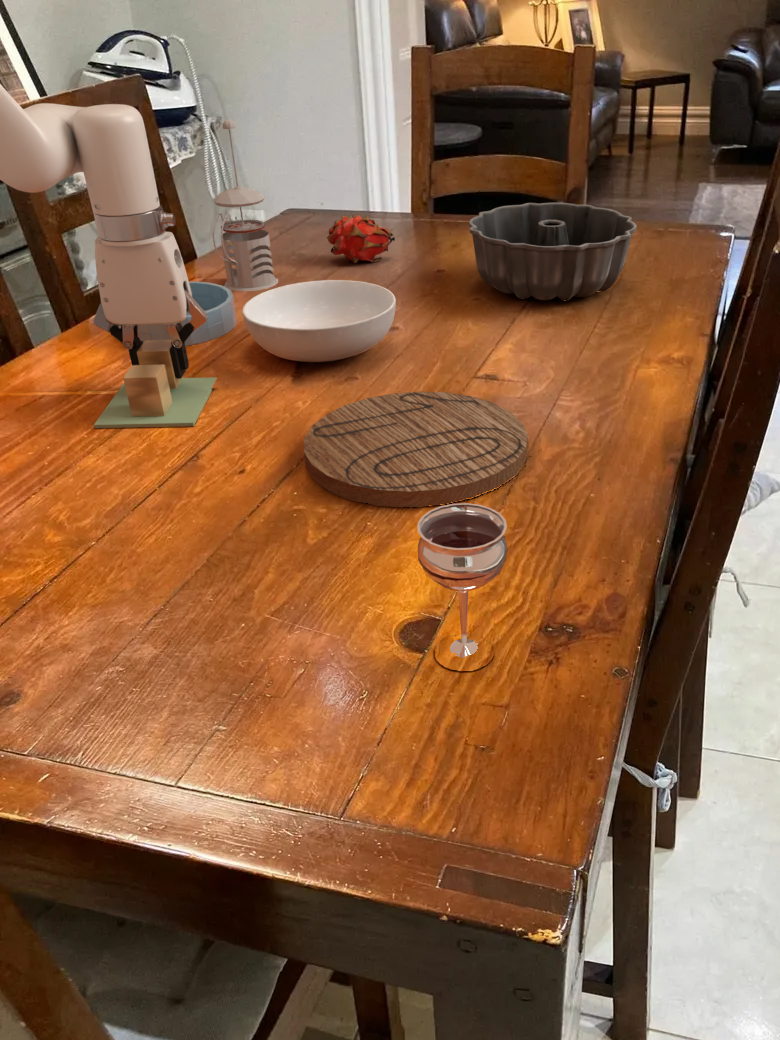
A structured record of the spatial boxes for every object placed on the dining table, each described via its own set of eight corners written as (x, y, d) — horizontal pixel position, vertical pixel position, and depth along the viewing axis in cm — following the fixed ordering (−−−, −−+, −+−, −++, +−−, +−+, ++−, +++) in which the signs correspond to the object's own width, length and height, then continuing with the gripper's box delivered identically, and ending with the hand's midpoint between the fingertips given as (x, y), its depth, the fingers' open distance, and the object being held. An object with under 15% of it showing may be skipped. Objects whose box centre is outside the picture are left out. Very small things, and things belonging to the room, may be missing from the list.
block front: (132, 416, 113) (122, 377, 111) (141, 403, 117) (132, 365, 114) (164, 416, 113) (156, 377, 110) (172, 402, 117) (164, 364, 114)
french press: (292, 280, 158) (273, 116, 144) (250, 301, 150) (225, 128, 135) (246, 273, 162) (222, 113, 147) (202, 293, 154) (173, 125, 139)
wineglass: (486, 688, 72) (486, 558, 65) (408, 666, 75) (400, 538, 68) (518, 638, 77) (521, 513, 70) (444, 619, 79) (440, 496, 72)
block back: (145, 389, 118) (136, 351, 115) (153, 377, 122) (144, 340, 119) (176, 389, 118) (168, 350, 115) (183, 376, 122) (176, 339, 119)
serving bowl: (318, 316, 143) (313, 270, 139) (427, 342, 133) (426, 293, 129) (217, 359, 130) (208, 310, 126) (331, 391, 119) (325, 339, 115)
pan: (103, 352, 133) (95, 321, 130) (136, 311, 147) (130, 282, 144) (224, 349, 133) (219, 318, 130) (246, 309, 147) (242, 280, 144)
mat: (94, 428, 112) (93, 424, 112) (127, 382, 124) (126, 379, 123) (193, 426, 112) (193, 422, 112) (217, 380, 123) (217, 377, 123)
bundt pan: (665, 289, 150) (673, 224, 144) (537, 324, 138) (539, 255, 132) (559, 253, 168) (562, 194, 162) (438, 281, 156) (436, 219, 150)
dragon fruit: (325, 269, 168) (391, 276, 170) (324, 251, 160) (394, 259, 161) (328, 223, 168) (394, 230, 170) (327, 202, 160) (397, 210, 161)
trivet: (272, 436, 109) (270, 421, 108) (457, 390, 119) (457, 376, 118) (362, 532, 91) (361, 515, 90) (572, 468, 101) (573, 452, 100)
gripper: (208, 215, 111) (233, 362, 122) (69, 219, 112) (106, 365, 122) (194, 231, 105) (222, 385, 116) (47, 235, 106) (88, 388, 116)
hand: (162, 373), depth 119 cm, fingers closed on block back, 4 cm apart
